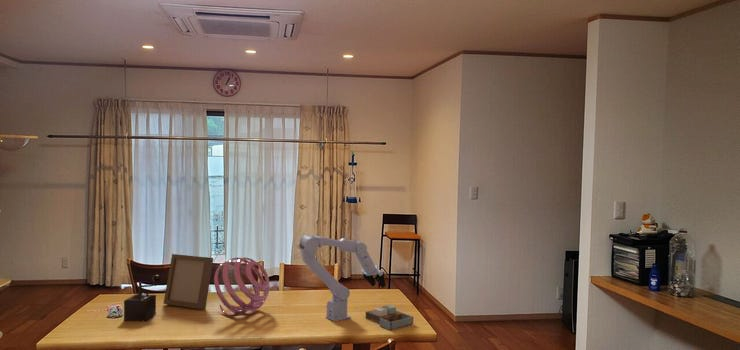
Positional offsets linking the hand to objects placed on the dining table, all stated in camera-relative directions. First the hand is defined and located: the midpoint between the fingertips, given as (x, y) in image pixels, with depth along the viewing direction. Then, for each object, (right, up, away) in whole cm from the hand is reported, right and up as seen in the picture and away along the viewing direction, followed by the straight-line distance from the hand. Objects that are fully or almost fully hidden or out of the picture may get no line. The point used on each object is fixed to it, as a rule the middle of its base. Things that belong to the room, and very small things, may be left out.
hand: (379, 285), depth 237 cm
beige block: (+1, -11, -12) cm, 16 cm away
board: (+2, -14, -9) cm, 16 cm away
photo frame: (-95, -11, +7) cm, 96 cm away
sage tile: (+5, -11, -8) cm, 14 cm away
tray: (+8, -14, -18) cm, 24 cm away
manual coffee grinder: (-110, -11, -12) cm, 111 cm away
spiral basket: (-65, -12, -6) cm, 67 cm away
